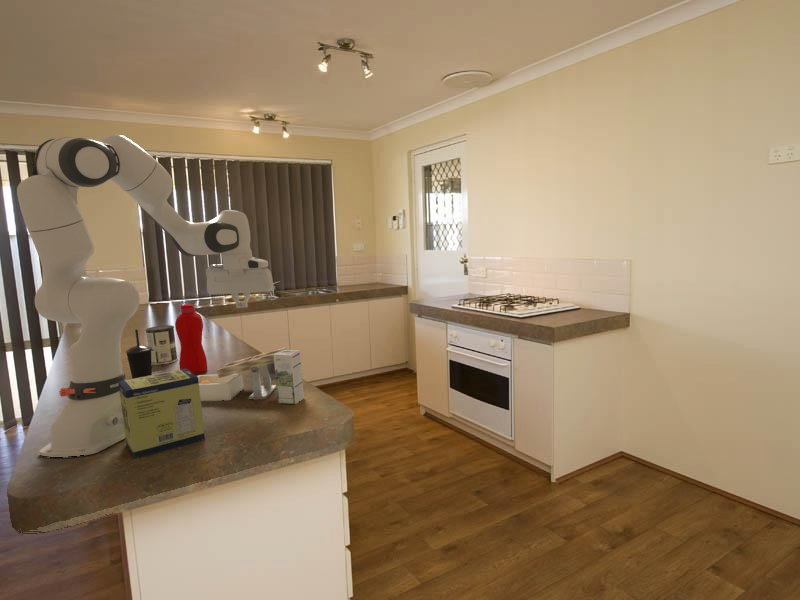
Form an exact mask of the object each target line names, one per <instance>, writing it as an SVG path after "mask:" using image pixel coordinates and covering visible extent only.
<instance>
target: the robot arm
mask: <svg viewBox="0 0 800 600" xmlns="http://www.w3.org/2000/svg"><path fill="white" fill-rule="evenodd" d="M109 180H110V181H112V182H113V183H115V184H116V185H117V186H119V188H121V189H122V190H123V191H124V192H126V193H127V194H128V195H129V196H130V197H132V199H134V200H135V201H136V203H137V204H138V205H139V207H140V208H141V209H142V211H143V212H145V214H146V215H147V216H149V218H150V219H151V220H152V221H153V222H154V223H156V224H157V225H158V227H160V228H161V230H163V231H164V232H165V233H166V234H167V235H168V236H169V238H170V239H171V241H172V243H173V244H174V246H175V247H176V249H177V250H178V251H179V252H180V253H181V254H182V255H184V256H186V257H199V256H207V255H211V256H212V255H219V254H220V255H221V258H222V259H221V260H222V264H221V263H219V264H218V263H217V264H210V265H209V266H207V267H206V269H205V276H206V292H207V293H208V294H209V295H211V296H212V295H230V296H231V299H232V300H233V301H234V303H235V307H236V309H243V308H244V309H245V308H248V307H249V305H248V302H249V300H250V297H251V294H252V293H253V294H254V293H268V292H272V291H273V289H274V281H273V275H272V272H271V270H270V269H269V268H268V267H269V261H268V260H266V259H262V258H260V257H259V258H257V257H254V256H253V251H252V249H251V241H252V239H251V230H250V223H249V220H248V217H247V214H245V213H244V212H243V211H240V210H235V209H233V210H232V209H224V210H222V211H220V213H219V214H218V215H216V216H215V217H214V218H212V219H210V220H208V221H202V222H191V221H188V220H185V219H184V218H183V217H182V216H181V215H180V214H179V213H178V212H177V211H176V210H175V208H173V207H172V206H171V205H170V204H169V203H168V199H169V197H170V196H171V194H172V193H173V192H172V191H173V186H174V185H173V178H172V176H171V175H170V173H169V172H168V171H167V169H166V168H165V167H164V166H163V165H162V164H161V163H160V162H158V161H157V160H156V159H155V158H154V157H153V156H152V155H151V154H150V153H148V152H147V151H146V150H144V149H143V148H142V147H141V146H140V145H138V144H137V143H135V142H134V141H132V140H131V139H129V138H128V137H126V136H125V135H121V134H117V133H116V134H115V133H114V134H110V135H108V136H105V137H103V138H102V139H101V140H100V141H97V140H94V139H91V138H87V137H75V136H74V137H73V136H61V137H57V138H50V139H48V140H46V141H44V142H43V143H41V144H40V145H39V146H38V147H37V149H36V151H35V155H34V164H33V168H32V175H31V176H29V177H27V178H25V179H23V180H22V181H20V182H19V184H18V185H17V188H16V195H17V200H18V204H19V208H20V211H21V216H22V219H23V221H24V224H25V227H26V229H27V231H28V234H29V236H30V238H31V240H32V243H33V245H34V247H35V249H36V253H37V255H38V257H39V260H40V261H39V262H40V265H41V271H42V281H41V284H40V287H39V288H38V289H37V291H36V293H35V295H34V306H35V309H36V311H37V313H38V314H39V315H40V316H41V317H42V318H44V319H46V320H49V321H53V322H57V323H62V324H81V331H80V334H79V338H78V340H76V342H74V343H73V344H72V345H71V346H70V347H69V349H68V351H67V356H68V363H69V371H70V377H71V380H70V383H69V387H61V388H60V389H59V393H58V394H59V396H60V397H66V396H67V398H68V400H67V402H66V404H64V406H63V408H62V409H61V410H60V412H59V414H58V415H57V416H56V418H55V420H54V421H53V422H52V424H51V425H50V429H49V435H50V436H49V437H50V440H49V441H50V442H49V443H48V444H47V445H45V446H44V447H42V448H41V449H40V450H39V452H38V454H39V453H40V454H41V455H45V456H53V457H63V458H69V457H68V456H77V457H81V456H80V455H84V456H89V455H94V454H97V453H99V452H101V451H104V450H105V449H107V448H108V447H111V446H113V445H115V444H117V443H119V442H120V441H122V440H125V439H126V436H125V428H124V421H123V413H122V406H121V399H120V392H119V385H118V382H119V381H123V380H127V377H126V373H125V372H124V370H123V361H122V352H121V351H122V349H121V348H122V345H121V344H122V336H123V333H124V330H125V327H126V325H127V323H128V322H129V320H130V319H131V318H132V317H133V316H134V315H135V314H136V313H137V311H138V310H139V307H140V301H141V300H140V299H141V298H140V294H139V291H138V289H137V287H136V286H135V285H134V283H132V282H131V281H129V280H126V279H120V278H115V277H109V276H108V277H90V276H88V273H87V262H88V261H89V260H90V259H91V257H93V255H94V253H95V244H94V243H93V240H92V238H91V234H90V233H89V230H88V227H87V225H86V222H85V220H84V217H83V214H82V212H81V210H80V208H79V206H78V204H79V203H78V193H79V192H78V191H79V188H94V187H98V186H100V185H102V184H104V183H106V182H107V181H109ZM239 294H243V297H244V300H243V301H240V299H239Z"/></svg>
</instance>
